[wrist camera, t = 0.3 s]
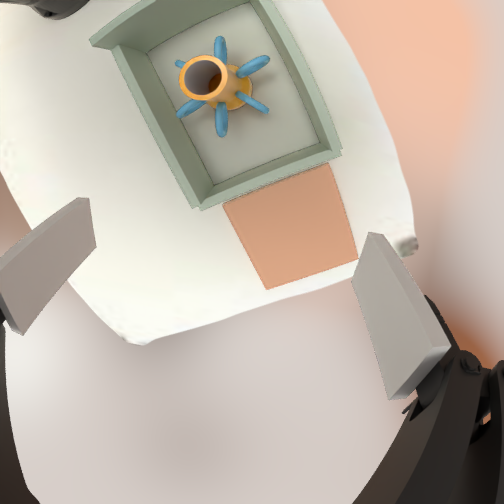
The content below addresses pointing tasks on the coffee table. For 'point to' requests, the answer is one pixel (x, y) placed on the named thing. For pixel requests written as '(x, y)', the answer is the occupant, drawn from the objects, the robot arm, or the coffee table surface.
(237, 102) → the orange tube
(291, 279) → the terracotta tile
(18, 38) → the coffee table surface
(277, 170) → the box
